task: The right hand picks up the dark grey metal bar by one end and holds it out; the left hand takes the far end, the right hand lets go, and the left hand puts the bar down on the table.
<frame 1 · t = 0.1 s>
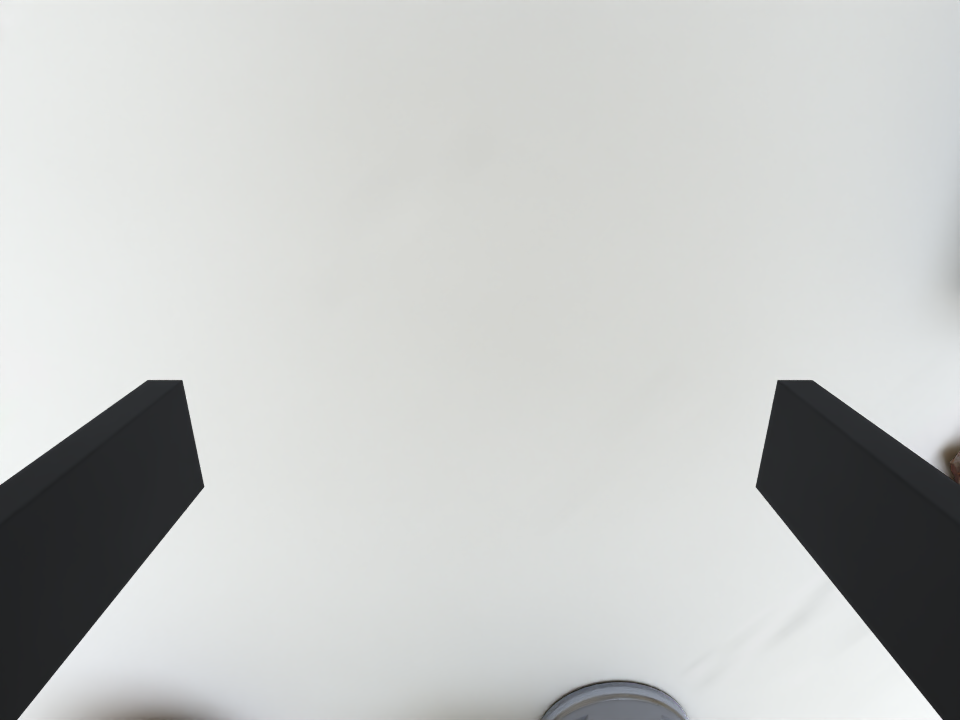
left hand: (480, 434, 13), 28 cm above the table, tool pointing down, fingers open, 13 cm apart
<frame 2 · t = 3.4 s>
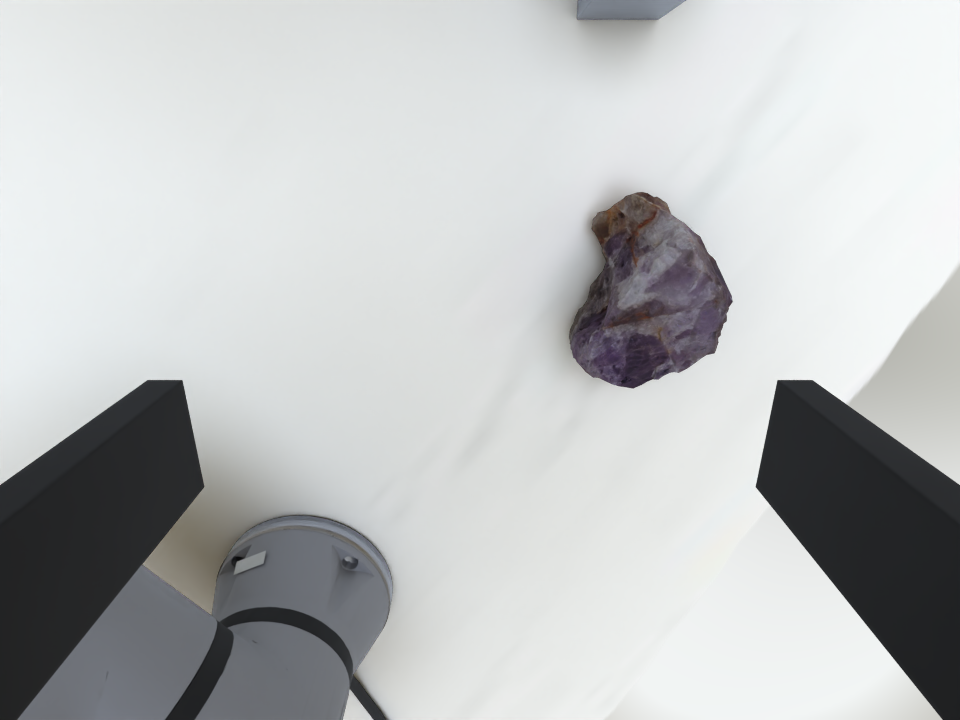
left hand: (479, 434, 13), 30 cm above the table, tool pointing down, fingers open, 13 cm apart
rock: (634, 283, 42), on the table
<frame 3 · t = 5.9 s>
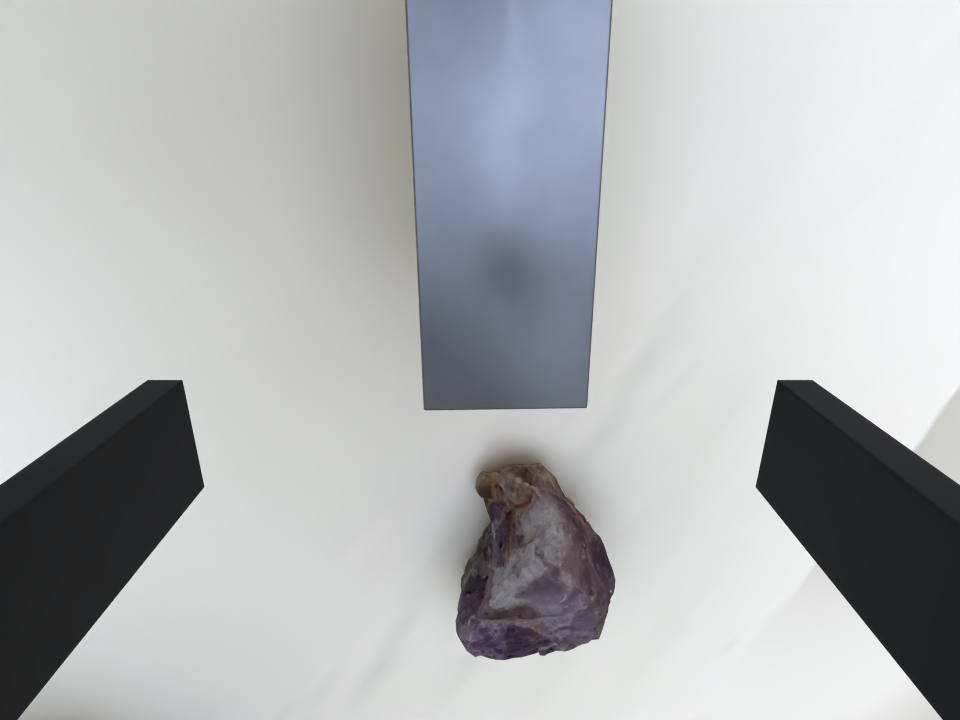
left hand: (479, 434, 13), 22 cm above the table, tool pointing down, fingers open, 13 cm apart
bar: (494, 38, 22), point 9 cm above the table, touching right hand
rock: (528, 527, 40), on the table
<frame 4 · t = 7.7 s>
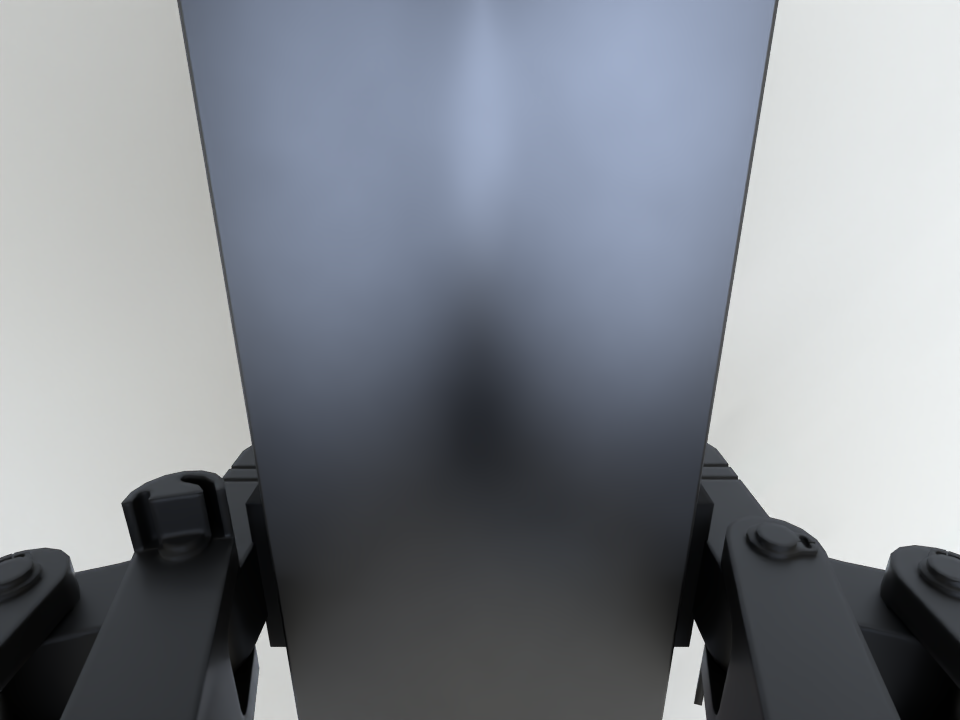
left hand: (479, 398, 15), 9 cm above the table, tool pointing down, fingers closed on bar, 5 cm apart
bar: (478, 68, 12), point 9 cm above the table, touching left hand, right hand
when the right hand's fingers open (9 cm above the table, at t = 8.5 s): bar stays where it is, held by the left hand.
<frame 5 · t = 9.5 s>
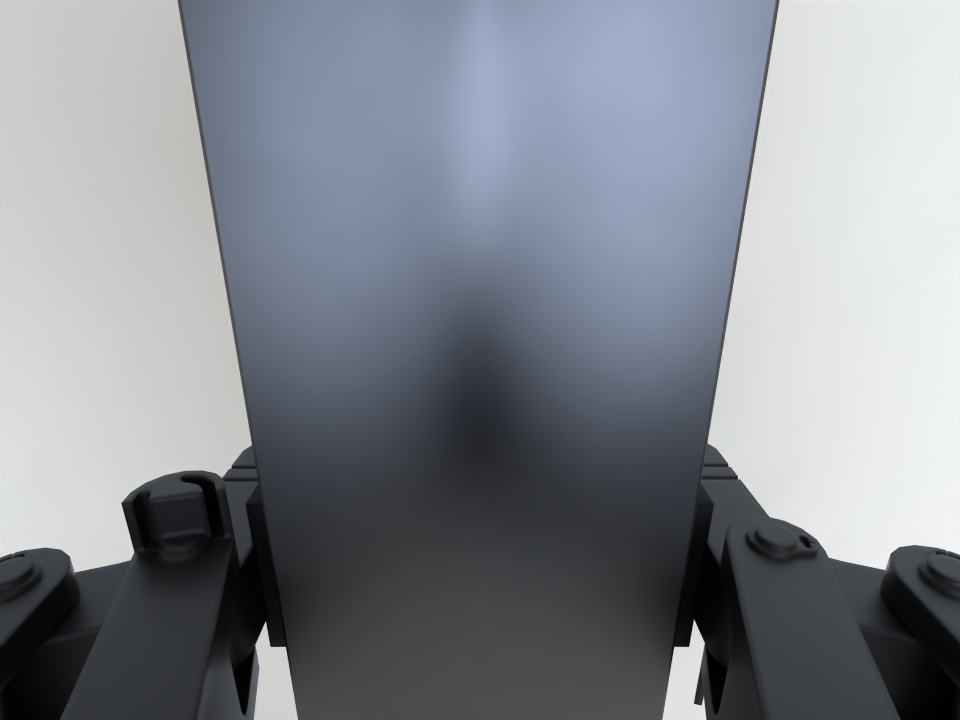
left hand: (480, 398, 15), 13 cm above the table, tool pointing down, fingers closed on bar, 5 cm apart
bar: (479, 68, 12), point 13 cm above the table, touching left hand
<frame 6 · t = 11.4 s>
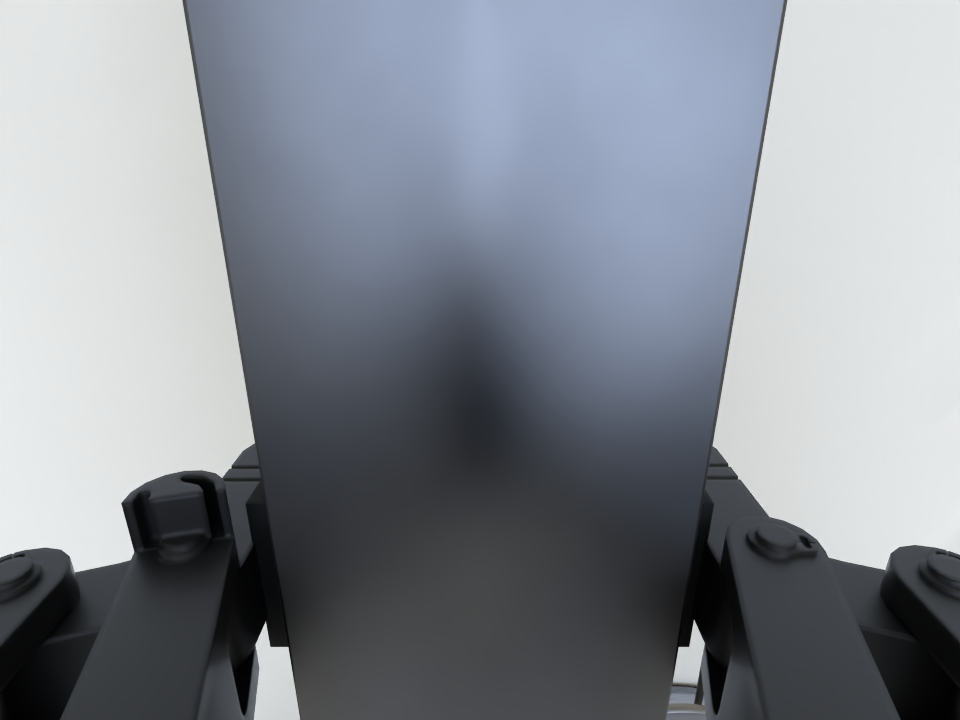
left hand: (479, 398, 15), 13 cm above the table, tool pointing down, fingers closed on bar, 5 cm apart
bar: (481, 63, 12), point 13 cm above the table, touching left hand
when the left hand's fingers open (2 cm above the table, at t = 15.2 s): bar drops 2 cm, on the table.
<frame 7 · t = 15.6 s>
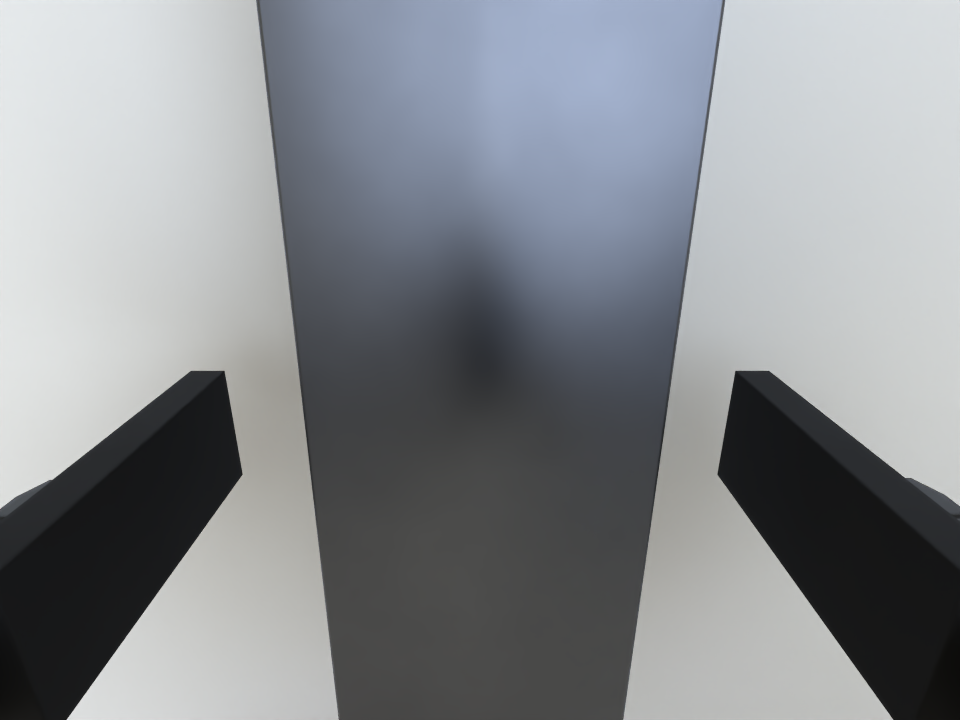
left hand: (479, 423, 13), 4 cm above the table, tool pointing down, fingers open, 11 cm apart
bar: (484, 77, 14), on the table
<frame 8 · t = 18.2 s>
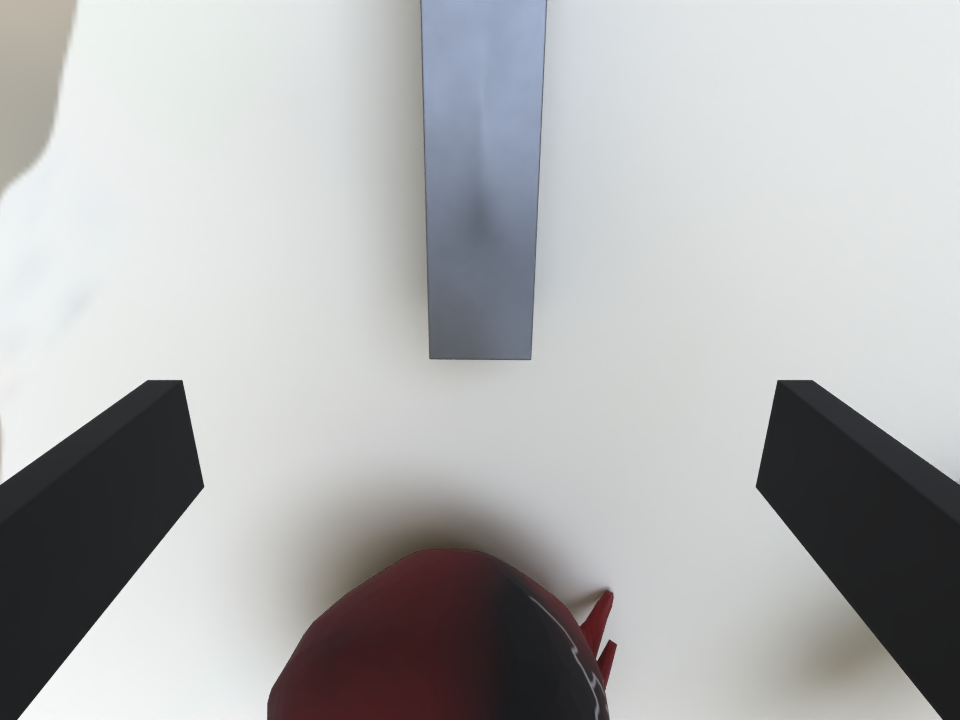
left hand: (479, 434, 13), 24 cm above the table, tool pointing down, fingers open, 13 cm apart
bar: (482, 115, 32), on the table
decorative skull: (441, 625, 46), on the table
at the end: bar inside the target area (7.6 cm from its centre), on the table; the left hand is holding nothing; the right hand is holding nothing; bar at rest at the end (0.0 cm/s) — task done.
